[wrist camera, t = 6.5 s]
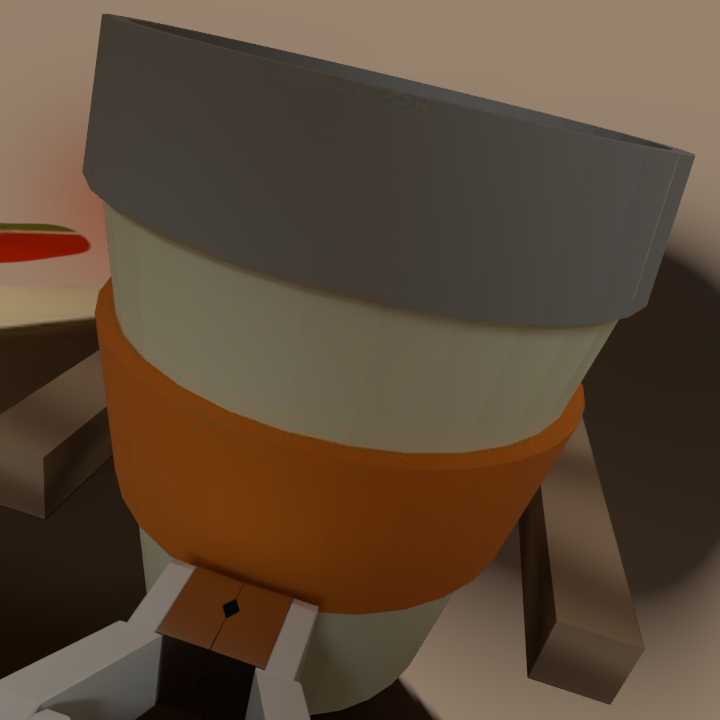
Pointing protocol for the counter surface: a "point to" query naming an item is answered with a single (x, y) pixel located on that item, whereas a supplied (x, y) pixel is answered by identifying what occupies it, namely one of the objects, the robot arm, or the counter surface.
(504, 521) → the reusable coffee cup
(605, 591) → the walnut bay
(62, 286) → the counter surface
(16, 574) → the counter surface
